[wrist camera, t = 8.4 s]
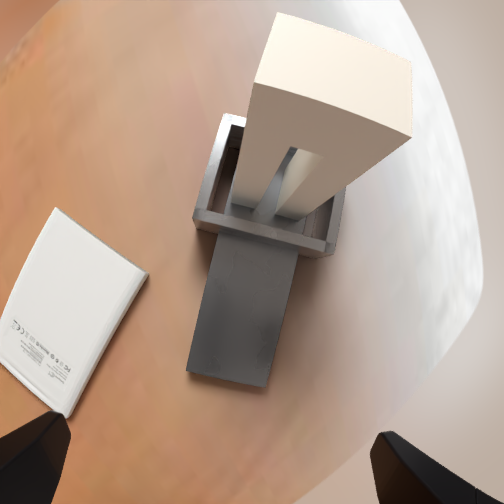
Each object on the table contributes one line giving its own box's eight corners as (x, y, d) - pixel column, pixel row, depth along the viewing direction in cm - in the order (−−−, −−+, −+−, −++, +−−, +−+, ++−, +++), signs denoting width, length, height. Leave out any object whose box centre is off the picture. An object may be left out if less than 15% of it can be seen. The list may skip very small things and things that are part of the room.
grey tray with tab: (284, 385, 20) (296, 403, 17) (164, 359, 19) (155, 374, 16) (334, 159, 22) (352, 140, 18) (225, 128, 21) (227, 103, 18)
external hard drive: (151, 274, 20) (73, 413, 19) (63, 210, 20) (-2, 346, 18) (146, 273, 19) (65, 420, 17) (53, 205, 18) (-14, 349, 17)
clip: (299, 220, 20) (412, 137, 7) (230, 202, 19) (253, 82, 7) (308, 176, 20) (411, 62, 8) (242, 158, 20) (277, 12, 7)
